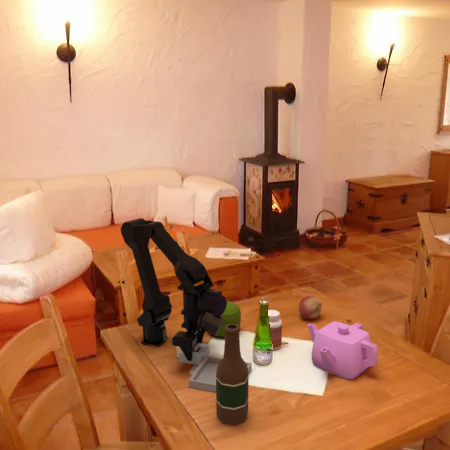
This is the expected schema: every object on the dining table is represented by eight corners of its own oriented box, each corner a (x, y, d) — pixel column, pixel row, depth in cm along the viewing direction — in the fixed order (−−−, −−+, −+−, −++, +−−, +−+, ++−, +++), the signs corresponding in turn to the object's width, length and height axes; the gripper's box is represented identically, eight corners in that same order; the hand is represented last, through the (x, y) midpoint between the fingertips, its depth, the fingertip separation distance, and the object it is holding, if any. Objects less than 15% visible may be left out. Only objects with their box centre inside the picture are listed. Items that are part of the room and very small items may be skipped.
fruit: (305, 324, 173) (306, 302, 171) (294, 315, 180) (294, 294, 178) (325, 320, 175) (326, 299, 173) (313, 311, 182) (314, 290, 180)
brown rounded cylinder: (189, 359, 152) (189, 345, 150) (192, 355, 154) (192, 341, 152) (196, 360, 151) (196, 346, 150) (199, 356, 153) (199, 342, 152)
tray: (188, 387, 137) (188, 380, 137) (206, 362, 150) (206, 355, 149) (237, 396, 133) (237, 389, 133) (251, 369, 146) (251, 363, 145)
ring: (209, 353, 154) (209, 344, 154) (201, 365, 148) (201, 356, 147) (182, 349, 157) (182, 340, 156) (173, 360, 151) (173, 351, 150)
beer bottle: (215, 407, 129) (214, 319, 122) (246, 405, 129) (246, 318, 123) (217, 427, 121) (216, 335, 115) (250, 425, 122) (250, 333, 116)
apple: (246, 329, 169) (246, 299, 167) (229, 343, 161) (229, 311, 158) (217, 322, 175) (217, 292, 172) (200, 335, 166) (199, 304, 163)
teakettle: (379, 380, 140) (383, 339, 137) (318, 382, 140) (320, 341, 136) (360, 349, 157) (363, 312, 153) (305, 351, 156) (307, 313, 153)
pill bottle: (285, 347, 158) (286, 314, 155) (269, 352, 155) (270, 319, 152) (273, 339, 163) (273, 306, 160) (257, 344, 160) (257, 311, 157)
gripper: (208, 323, 137) (209, 375, 141) (229, 297, 154) (230, 344, 158) (170, 318, 140) (172, 369, 144) (195, 292, 157) (196, 338, 161)
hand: (194, 354), depth 152 cm, fingers closed on ring, 7 cm apart
